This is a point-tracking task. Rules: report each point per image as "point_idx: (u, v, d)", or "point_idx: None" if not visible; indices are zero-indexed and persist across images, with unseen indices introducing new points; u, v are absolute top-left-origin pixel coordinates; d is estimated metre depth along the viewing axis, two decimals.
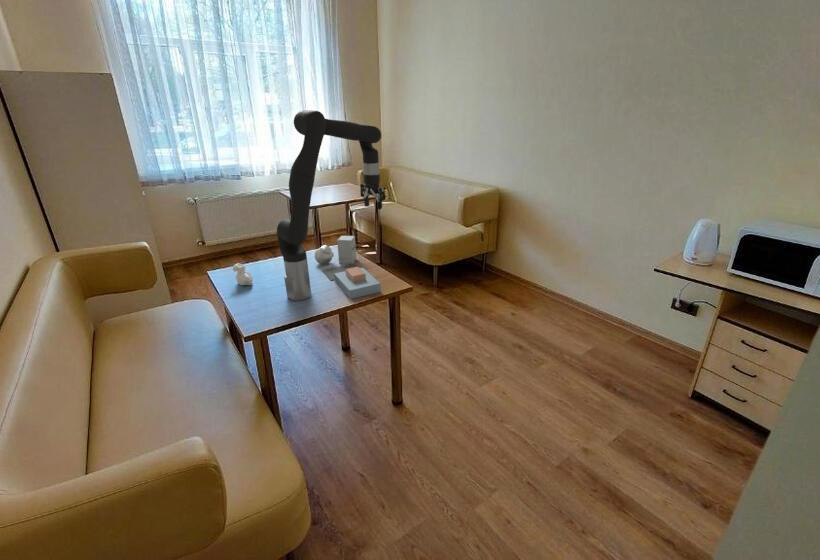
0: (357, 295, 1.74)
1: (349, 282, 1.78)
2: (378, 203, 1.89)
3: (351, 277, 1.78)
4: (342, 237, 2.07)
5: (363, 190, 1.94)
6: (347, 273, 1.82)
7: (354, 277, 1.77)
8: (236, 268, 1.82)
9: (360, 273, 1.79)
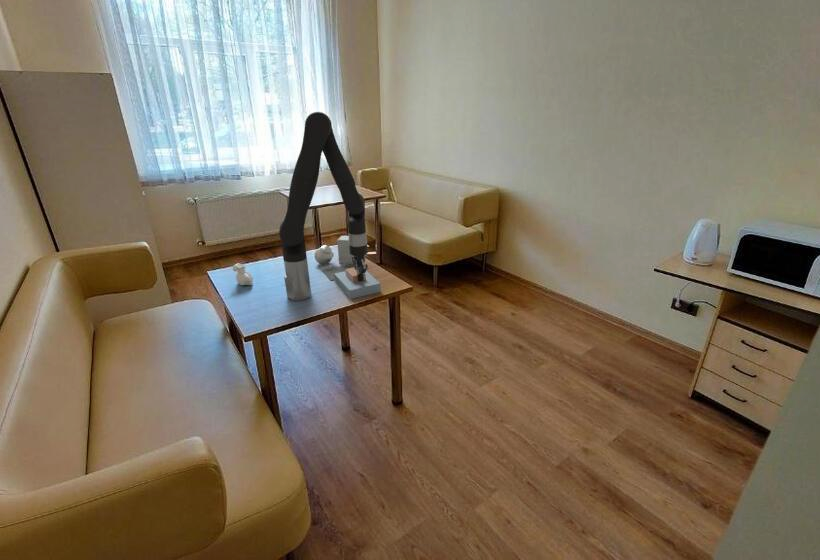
0: (357, 295, 1.74)
1: (349, 282, 1.78)
2: None
3: (351, 277, 1.78)
4: (342, 237, 2.07)
5: None
6: (347, 273, 1.82)
7: (354, 277, 1.77)
8: (236, 268, 1.82)
9: None
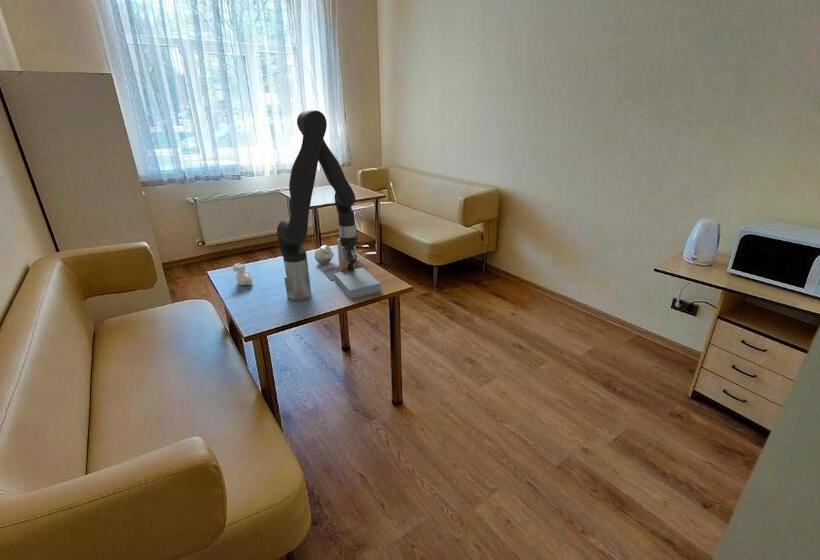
0: (357, 295, 1.74)
1: (349, 282, 1.78)
2: None
3: (340, 265, 1.88)
4: None
5: None
6: (338, 268, 1.92)
7: (342, 262, 1.87)
8: (236, 268, 1.82)
9: None
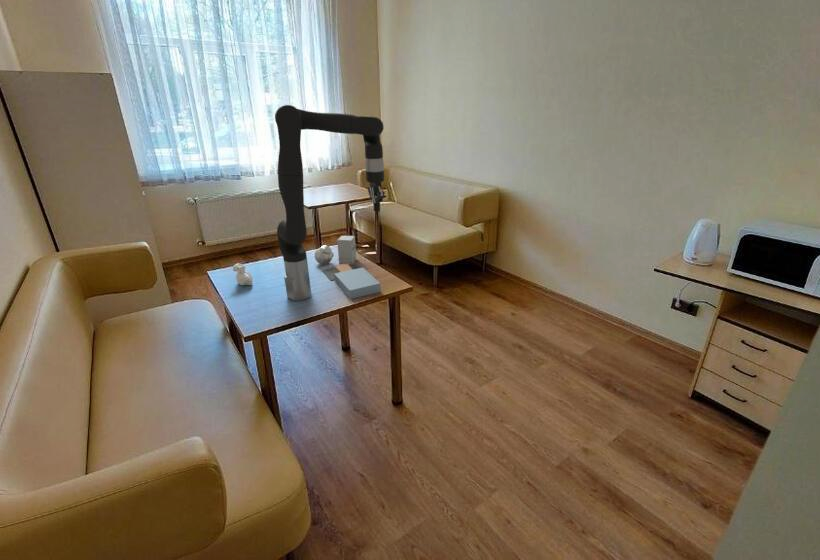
0: (357, 295, 1.74)
1: (349, 282, 1.78)
2: None
3: None
4: (342, 237, 2.07)
5: None
6: (336, 269, 1.95)
7: None
8: (236, 268, 1.82)
9: (348, 270, 1.92)
